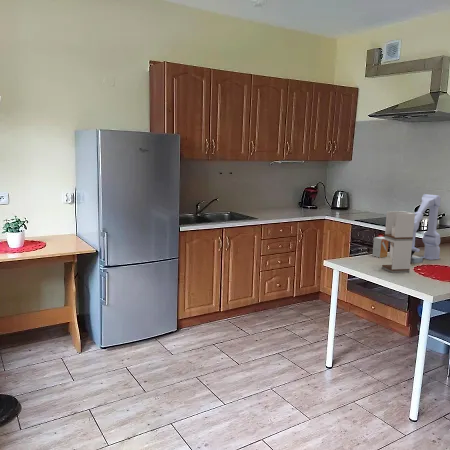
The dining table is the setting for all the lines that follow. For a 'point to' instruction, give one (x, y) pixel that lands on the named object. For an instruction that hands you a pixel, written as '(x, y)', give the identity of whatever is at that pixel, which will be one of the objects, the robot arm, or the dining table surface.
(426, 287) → the dining table surface
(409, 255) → the coffee grinder
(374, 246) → the small box
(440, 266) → the dining table surface
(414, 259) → the pad
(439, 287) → the dining table surface
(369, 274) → the dining table surface
